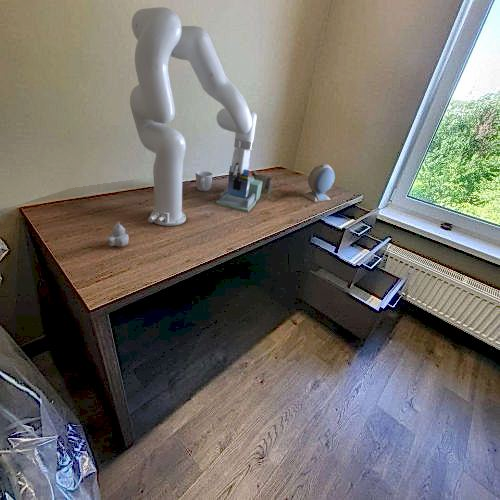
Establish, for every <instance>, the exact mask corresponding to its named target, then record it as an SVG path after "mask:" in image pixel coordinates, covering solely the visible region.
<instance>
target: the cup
mask: <svg viewBox="0 0 500 500" xmlns="http://www.w3.org/2000/svg"><path fill="white" fill-rule="evenodd" d="M213 177H214V176H213V173H212V172H211V171H206V170H198V171H195V185H196V189H197V190H198V191H200V192H209V191H210V190H211V189H212V183H213Z"/></svg>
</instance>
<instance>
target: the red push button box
mask: <svg viewBox="0 0 500 500" xmlns="http://www.w3.org/2000/svg"><path fill="white" fill-rule="evenodd" d="M262 183H263V181H260V180H255V179H254V177H253V176H252V175H251V178H250V184H249V191H248V196H247V197H246V199H248V198H249V197H250V196H251V195H252V194H255V198H254V201H256V202H257V201H258V200H259V199H260V198H261V195H262V194H261V193H262V192H261V188H262ZM230 195H232V194H230ZM234 196H236V195H234ZM238 197H240V196H238ZM242 198H244V197H242Z"/></svg>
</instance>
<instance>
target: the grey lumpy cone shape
mask: <svg viewBox="0 0 500 500" xmlns="http://www.w3.org/2000/svg"><path fill="white" fill-rule="evenodd" d="M111 229H112V233H111V234H110V235H109V236H108V237H107V238H106V242H107V243H108V246H109V247H114V246H116V247H118V248H122V247H125V246H127V245H128V244H129V242H130V236H129V235H128V233H126V228H125V227H124V226H123V225H122V224H120V221H118V222H117V223H115V224H114V225H113V227H112V228H111Z"/></svg>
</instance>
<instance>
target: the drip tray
mask: <svg viewBox="0 0 500 500" xmlns="http://www.w3.org/2000/svg"><path fill="white" fill-rule="evenodd" d="M227 190H228V188H226V189H225V190H224V191H222V192H221V193H220V195H219V199H217V200H216V201H215V205H220V206H223V207H226V208H230V209H234V210H238V211H242V212H245V213H249V212H250V211H251V209H252V208H254V206H255V205H256V204H257V201H254V198H255V194H252V195H251V196H250V197H249V198H248V199H246V198H242V197H238V196H234V195H230V194H228V193H227Z"/></svg>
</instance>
